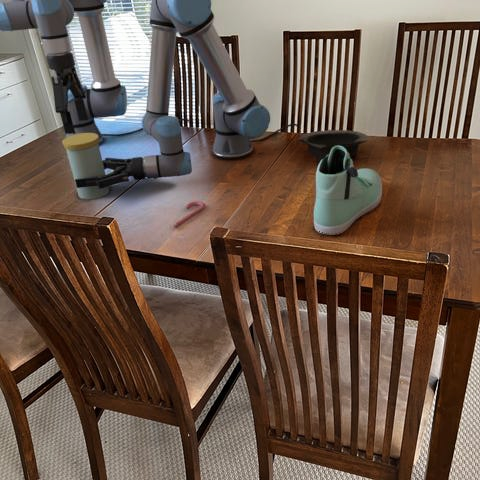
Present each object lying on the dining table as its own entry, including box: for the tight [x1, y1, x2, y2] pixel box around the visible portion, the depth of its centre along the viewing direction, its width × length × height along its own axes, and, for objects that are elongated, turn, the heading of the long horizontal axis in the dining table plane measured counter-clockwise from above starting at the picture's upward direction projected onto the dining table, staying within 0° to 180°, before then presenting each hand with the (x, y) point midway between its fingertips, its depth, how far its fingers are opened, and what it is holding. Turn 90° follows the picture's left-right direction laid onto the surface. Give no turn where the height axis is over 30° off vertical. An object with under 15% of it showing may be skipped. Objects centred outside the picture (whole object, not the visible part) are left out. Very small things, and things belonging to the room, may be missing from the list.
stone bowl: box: [297, 129, 371, 164], centre depth 171 cm, size 25×25×9 cm
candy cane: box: [173, 200, 207, 229], centre depth 142 cm, size 6×15×2 cm, turn 145°
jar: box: [65, 144, 110, 200], centre depth 156 cm, size 10×10×18 cm
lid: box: [61, 133, 99, 150], centre depth 152 cm, size 11×11×2 cm
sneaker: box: [313, 146, 383, 236], centre depth 133 cm, size 14×35×20 cm, turn 152°
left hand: (77, 126), depth 149 cm, fingers open, 12 cm apart
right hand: (79, 175), depth 157 cm, fingers open, 13 cm apart
